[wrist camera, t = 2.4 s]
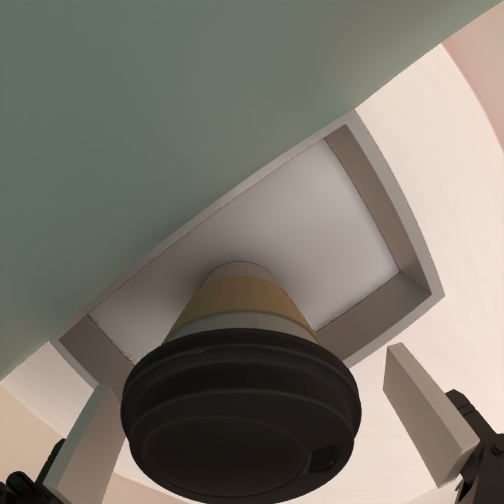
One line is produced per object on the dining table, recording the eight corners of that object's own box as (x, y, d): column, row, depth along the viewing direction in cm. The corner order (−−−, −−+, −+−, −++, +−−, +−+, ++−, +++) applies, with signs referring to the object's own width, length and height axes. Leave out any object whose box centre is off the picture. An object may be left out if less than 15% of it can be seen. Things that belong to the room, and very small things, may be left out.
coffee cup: (317, 317, 23) (392, 467, 9) (217, 363, 24) (205, 522, 10) (265, 213, 21) (325, 304, 6) (155, 272, 22) (56, 411, 7)
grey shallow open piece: (72, 308, 22) (44, 334, 17) (324, 116, 19) (349, 101, 14) (180, 416, 26) (173, 453, 21) (412, 274, 23) (445, 295, 18)
